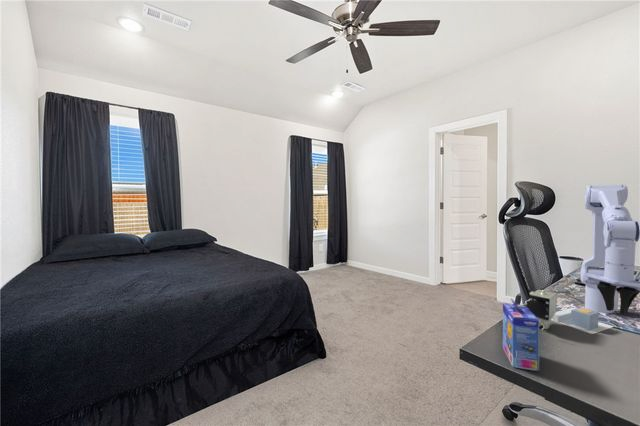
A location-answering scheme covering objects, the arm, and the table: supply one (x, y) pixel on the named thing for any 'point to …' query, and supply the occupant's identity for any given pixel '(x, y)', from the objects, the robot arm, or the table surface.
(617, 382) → the table surface
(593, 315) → the block
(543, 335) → the table surface
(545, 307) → the pneumatic valve
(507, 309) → the ink cartridge box
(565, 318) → the rail board
